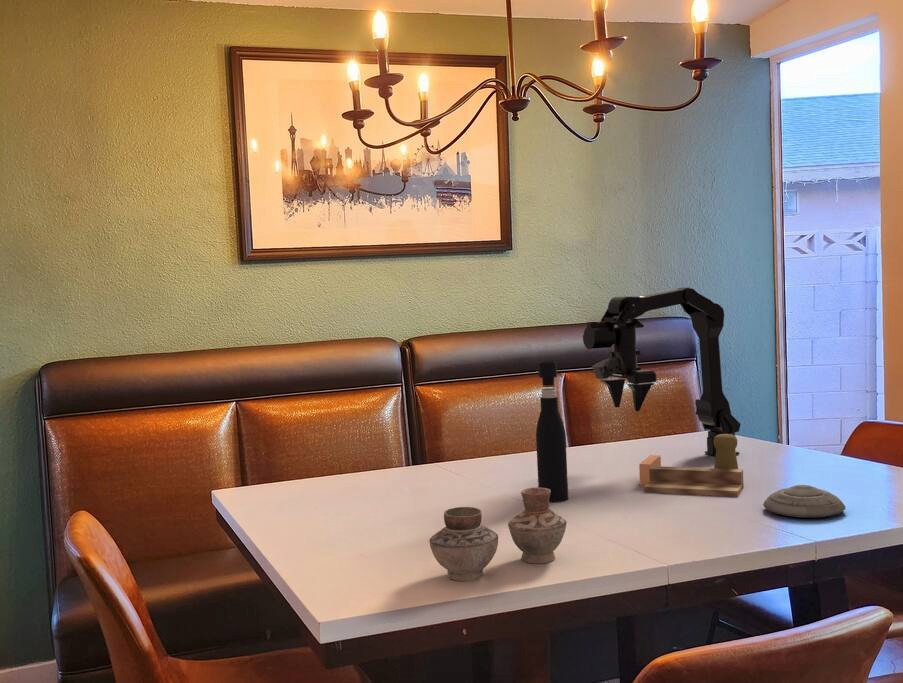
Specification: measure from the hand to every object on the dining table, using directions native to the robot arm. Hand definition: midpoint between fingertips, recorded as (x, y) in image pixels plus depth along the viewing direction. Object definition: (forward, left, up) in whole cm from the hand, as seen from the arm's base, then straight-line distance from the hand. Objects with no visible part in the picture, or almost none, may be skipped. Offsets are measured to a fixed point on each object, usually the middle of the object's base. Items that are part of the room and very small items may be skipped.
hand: (627, 409), depth 227 cm
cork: (-8, +27, -15) cm, 32 cm away
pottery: (+61, +58, -15) cm, 86 cm away
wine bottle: (+32, +20, -15) cm, 40 cm away
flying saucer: (-4, +56, -15) cm, 58 cm away
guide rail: (0, +25, -15) cm, 29 cm away
